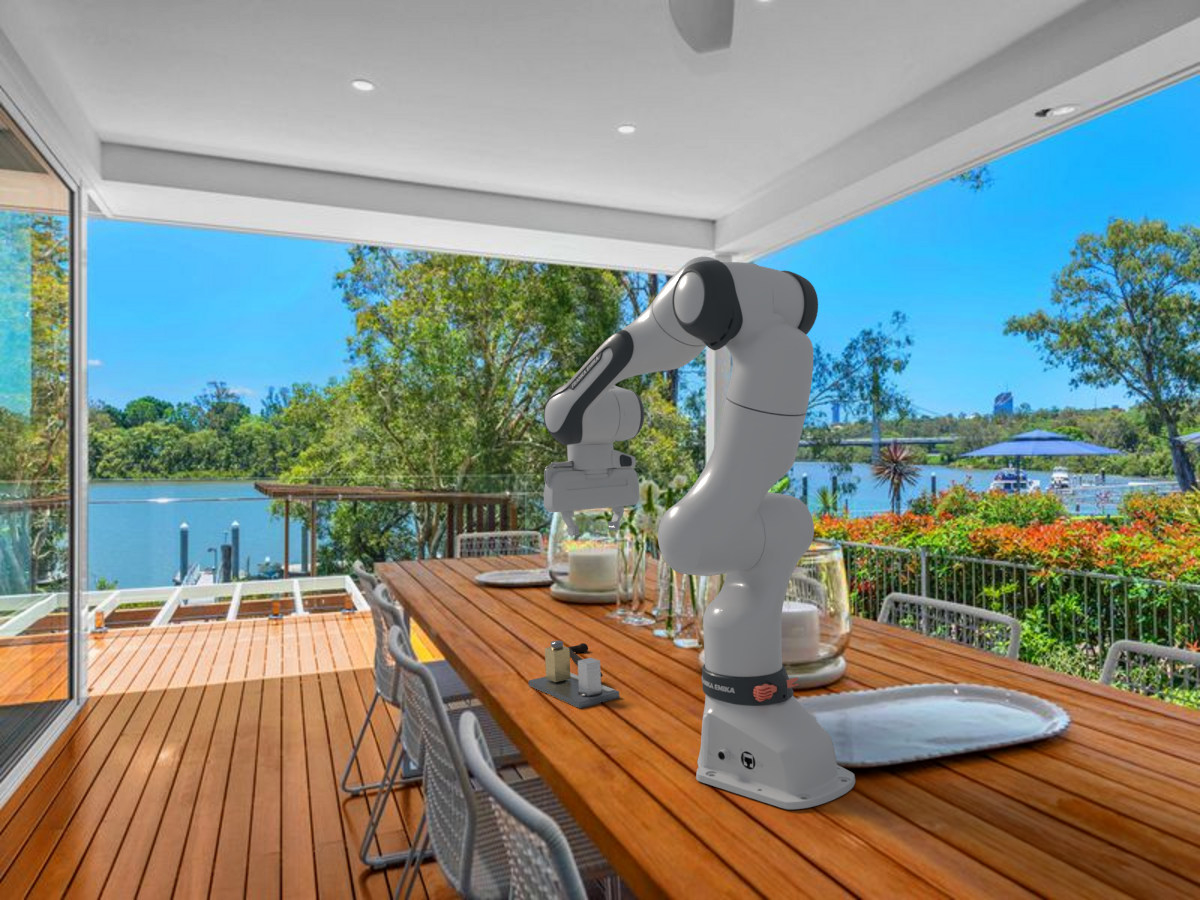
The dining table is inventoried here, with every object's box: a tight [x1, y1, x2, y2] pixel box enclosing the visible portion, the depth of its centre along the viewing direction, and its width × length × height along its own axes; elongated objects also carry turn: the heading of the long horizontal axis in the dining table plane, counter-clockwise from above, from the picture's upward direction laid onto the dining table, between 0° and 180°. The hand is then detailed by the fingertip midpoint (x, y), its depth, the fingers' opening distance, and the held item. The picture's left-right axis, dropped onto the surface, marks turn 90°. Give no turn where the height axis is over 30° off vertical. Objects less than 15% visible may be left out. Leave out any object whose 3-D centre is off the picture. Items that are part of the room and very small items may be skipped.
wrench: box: [567, 642, 603, 678], centre depth 167 cm, size 5×5×30 cm
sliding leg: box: [544, 640, 571, 682], centre depth 156 cm, size 4×4×7 cm
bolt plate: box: [528, 657, 620, 709], centre depth 152 cm, size 18×9×7 cm, turn 35°
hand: (594, 532), depth 151 cm, fingers open, 8 cm apart
